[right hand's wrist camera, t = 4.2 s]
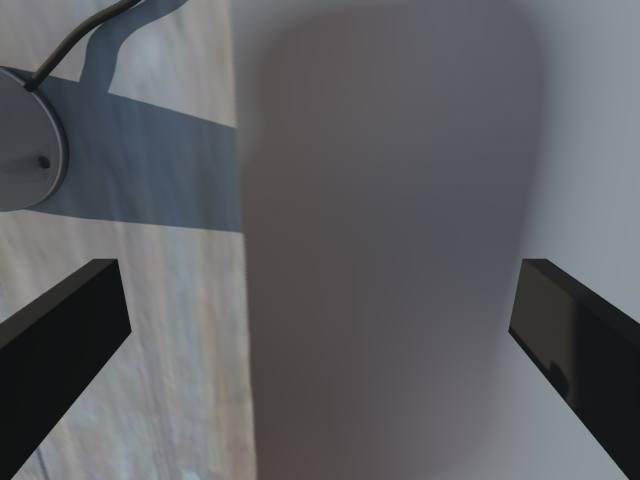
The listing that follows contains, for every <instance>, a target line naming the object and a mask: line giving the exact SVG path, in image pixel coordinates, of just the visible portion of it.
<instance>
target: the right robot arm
mask: <svg viewBox="0 0 640 480" xmlns="http://www.w3.org/2000/svg"><path fill="white" fill-rule="evenodd" d="M140 1H141V0H121V1H119V2H118V3H116V4H114V5H112V6H110V7H108V8H106V9H104V10H102V11H100V12H99V13H97V14H95V15H93V16H92V17H90V18H88V19H87V20H86V21H84V22H83V23H81V24H80V25H79V26H78V27H77V28H75V29H74V30H73V31H72V32H71V33H70V34H69V35H68V36H67V37H66V38H65V39H64V40H63V42H62V43H61V44H60V45H59V46H58V47H57V49H56V50H55V51H54V52H53V53H52V55H51V56H50V57H49V58H48V59H47V60H46V61H45V62H44V63H43V65H42V66H41V67H40V68H39V69H38V70H37V71H36V72H35V74H34V75H33V76H32V77H31V78H30V79H29V80H28V81H26V80H25V79H24V78H22V77H21V76H19V75H17V74H16V73H14V72H12V71H10V70H8V69H5V68H3V67H0V212H7V211H14V210H20V209H24V208H27V207H30V206H33V205H36V204H38V203H40V202H43V201H44V200H46V199H47V198H49V197H50V196H51V195H52V194H53V193H54V192H55V191H56V190H57V189H58V188H59V186H60V185H61V183H62V181H63V179H64V177H65V174H66V171H67V166H68V144H67V139H66V135H65V132H64V129H63V126H62V124H61V122H60V119H59V118H58V116H57V114H56V112H55V111H54V109H53V107H52V106H51V105H50V103H49V102H48V101H47V99H46V98H45V97H44V96H43V95H42V94H41V93H40V92H39V91H38V90H37V89H36V88H37V87H38V86H39V85H40V83H41V82H42V81H43V80H44V79H45V78H46V77H47V76H48V75H49V73H50V72H51V71H52V70H53V69H54V68H55V67H56V66H57V65H58V64H59V62H60V61H61V60H62V59H63V58H64V57H65V55H66V54H67V53H68V52H69V51H70V50H71V48H72V47H73V46H74V45H75V44H76V43H77V42H78V41H79V40H80V39H81V38H82V37H83V36H85V35H86V34H87V33H88V32H89V31H91V30H92V29H94V28H95V27H97V26H98V25H100V24H101V23H103V22H105V21H107V20H109V19H111V18H113V17H115V16H117V15H119V14H120V13H122V12H124V11H126V10H128V9H130V8H131V7H133V6H134V5H136V4H137V3H138V2H140ZM131 332H132V331H131V326H130V321H129V315H128V310H127V305H126V300H125V295H124V290H123V285H122V280H121V275H120V270H119V265H118V260H117V259H93V260H91V261H90V262H88V263H87V264H85V265H84V266H83V267H81V268H80V269H78V270H77V271H75V272H74V273H73V274H71V275H70V276H68V277H67V278H65V279H64V280H62V281H61V282H60V283H58V284H57V285H55V286H54V287H52V288H51V289H50V290H48V291H47V292H45V293H44V294H42V295H41V296H39V297H38V298H37V299H35V300H34V301H32V302H31V303H29V304H28V305H27V306H25V307H24V308H22V309H21V310H19V311H18V312H16V313H15V314H14V315H12V316H11V317H9V318H8V319H6V320H5V321H4V322H2V323H1V324H0V480H11V479H12V478H13V476H14V475H15V474H16V473H17V472H18V470H19V469H20V468H21V467H22V465H23V464H24V463H25V462H26V461H27V459H28V458H29V457H30V456H31V454H32V453H33V452H34V451H35V450H36V448H37V447H38V446H39V445H40V443H41V442H42V441H43V440H44V439H45V437H46V436H47V435H48V434H49V432H50V431H51V430H52V429H53V428H54V426H55V425H56V424H57V423H58V421H59V420H60V419H61V418H62V416H63V415H64V414H65V413H66V412H67V410H68V409H69V408H70V407H71V405H72V404H73V403H74V402H75V401H76V399H77V398H78V397H79V396H80V394H81V393H82V392H83V391H84V390H85V388H86V387H87V386H88V385H89V383H90V382H91V381H92V380H93V379H94V377H95V376H96V375H97V374H98V372H99V371H100V370H101V369H102V368H103V366H104V365H105V364H106V363H107V361H108V360H109V359H110V358H111V357H112V355H113V354H114V353H115V352H116V350H117V349H118V348H119V347H120V346H121V344H122V343H123V342H124V341H125V339H126V338H127V337H128V336H129V335H130V333H131ZM508 332H509V333H510V335H511V336H512V337H513V338H514V339H515V341H516V342H517V343H518V344H519V346H520V347H521V348H522V349H523V350H524V351H525V353H526V354H527V355H528V357H529V358H530V359H531V360H532V361H533V363H534V364H535V365H536V366H537V368H538V369H539V370H540V371H541V372H542V374H543V375H544V376H545V377H546V379H547V380H548V381H549V382H550V383H551V385H552V386H553V387H554V388H555V390H556V391H557V392H558V393H559V394H560V396H561V397H562V398H563V399H564V401H565V402H566V403H567V404H568V405H569V407H570V408H571V409H572V410H573V412H574V413H575V414H576V415H577V416H578V418H579V419H580V420H581V421H582V423H583V424H584V425H585V426H586V428H587V429H588V430H589V431H590V432H591V434H592V435H593V436H594V437H595V439H596V440H597V441H598V442H599V443H600V445H601V446H602V447H603V448H604V450H605V451H606V452H607V453H608V454H609V456H610V457H611V458H612V459H613V461H614V462H615V463H616V464H617V465H618V467H619V468H620V469H621V470H622V471H623V473H624V474H625V475H626V476H627V478H628V479H629V480H640V324H639V323H638V322H636V321H635V320H634V319H632V318H631V317H629V316H628V315H626V314H625V313H624V312H622V311H621V310H619V309H618V308H616V307H615V306H613V305H612V304H611V303H609V302H608V301H606V300H605V299H603V298H602V297H601V296H599V295H598V294H596V293H595V292H593V291H592V290H590V289H589V288H588V287H586V286H585V285H583V284H582V283H580V282H579V281H578V280H576V279H575V278H573V277H572V276H570V275H569V274H567V273H566V272H565V271H563V270H562V269H560V268H559V267H557V266H556V265H555V264H553V263H552V262H550V261H549V260H547V259H523V260H522V265H521V270H520V275H519V280H518V285H517V290H516V295H515V300H514V305H513V310H512V316H511V321H510V326H509V331H508Z"/></svg>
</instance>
